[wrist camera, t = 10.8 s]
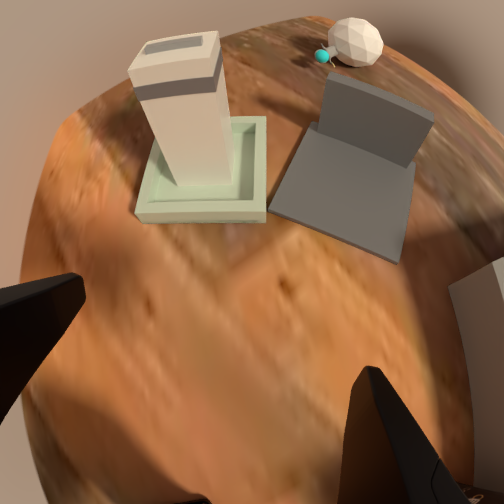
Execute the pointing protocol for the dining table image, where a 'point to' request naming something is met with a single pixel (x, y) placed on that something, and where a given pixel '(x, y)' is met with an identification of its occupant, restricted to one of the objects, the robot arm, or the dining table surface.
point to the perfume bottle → (352, 43)
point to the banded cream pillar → (187, 106)
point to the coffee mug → (481, 495)
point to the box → (484, 366)
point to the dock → (356, 167)
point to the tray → (210, 196)
